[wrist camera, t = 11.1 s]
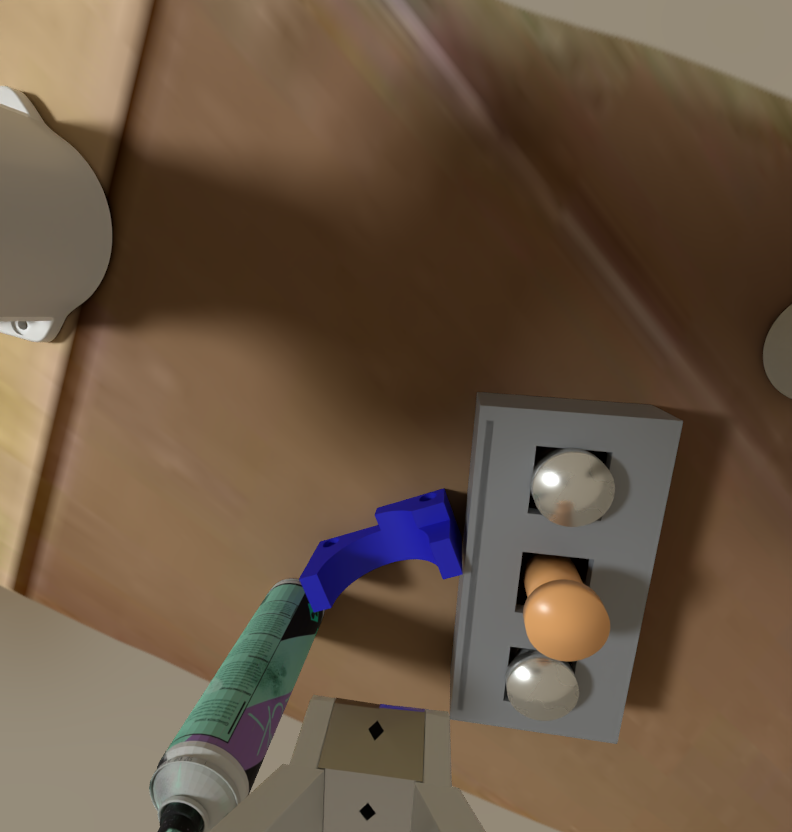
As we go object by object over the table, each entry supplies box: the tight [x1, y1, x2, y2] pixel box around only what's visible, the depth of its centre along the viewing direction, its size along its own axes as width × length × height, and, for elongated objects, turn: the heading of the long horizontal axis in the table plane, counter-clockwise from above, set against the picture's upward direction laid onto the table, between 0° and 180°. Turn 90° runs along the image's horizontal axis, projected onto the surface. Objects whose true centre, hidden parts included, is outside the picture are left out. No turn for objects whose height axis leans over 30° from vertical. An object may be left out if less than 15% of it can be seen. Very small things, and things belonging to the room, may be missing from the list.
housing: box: [450, 392, 683, 744], centre depth 37 cm, size 13×26×5 cm, turn 177°
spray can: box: [149, 579, 325, 832], centre depth 34 cm, size 6×6×20 cm
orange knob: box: [522, 553, 610, 661], centre depth 33 cm, size 5×5×6 cm
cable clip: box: [299, 489, 463, 612], centre depth 38 cm, size 12×4×6 cm, turn 110°
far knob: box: [505, 647, 579, 721], centre depth 38 cm, size 5×5×6 cm
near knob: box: [530, 446, 615, 527], centre depth 34 cm, size 5×5×6 cm
